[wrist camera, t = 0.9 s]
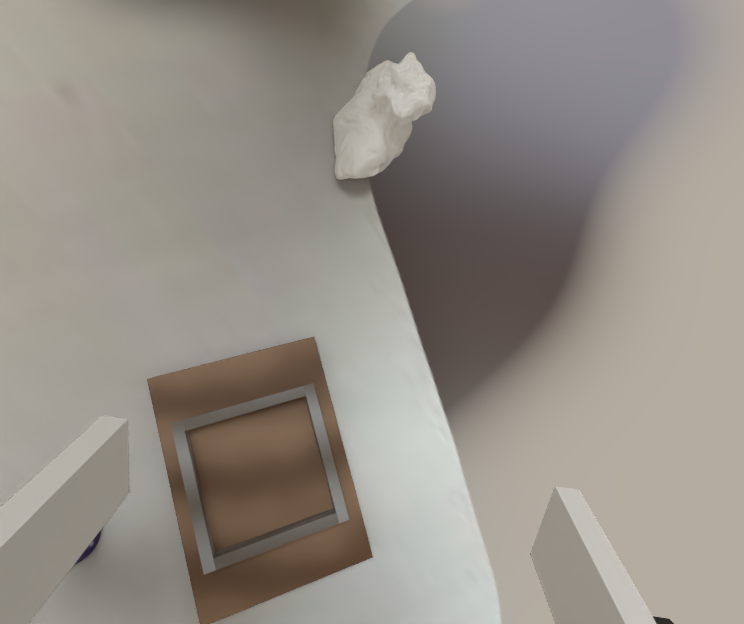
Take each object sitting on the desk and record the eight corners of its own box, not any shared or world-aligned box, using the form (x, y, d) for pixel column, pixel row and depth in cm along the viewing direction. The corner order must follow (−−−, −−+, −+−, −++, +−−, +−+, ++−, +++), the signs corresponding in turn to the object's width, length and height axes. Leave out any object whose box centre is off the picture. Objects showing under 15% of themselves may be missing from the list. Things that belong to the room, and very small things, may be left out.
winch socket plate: (150, 379, 35) (141, 378, 32) (312, 338, 38) (316, 334, 36) (202, 619, 33) (197, 638, 30) (369, 552, 36) (377, 563, 34)
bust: (347, 208, 44) (447, 192, 37) (291, 163, 38) (395, 133, 31) (377, 108, 47) (475, 75, 40) (330, 53, 41) (433, 2, 34)
